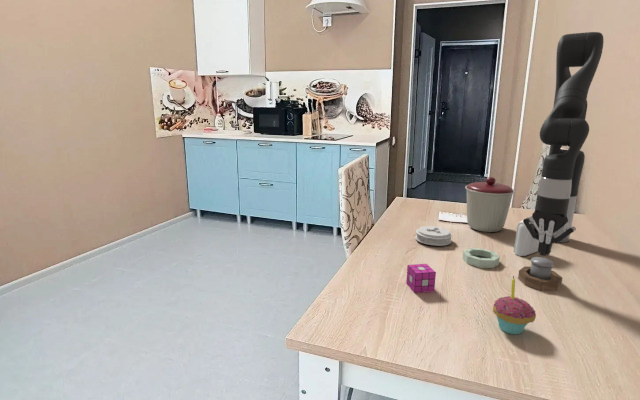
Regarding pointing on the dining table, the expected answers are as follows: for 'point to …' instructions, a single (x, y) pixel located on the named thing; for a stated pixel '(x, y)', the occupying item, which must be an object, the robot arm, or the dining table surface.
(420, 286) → the puzzle toy
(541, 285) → the walnut ring
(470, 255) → the sage ring
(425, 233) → the lid
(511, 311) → the cupcake
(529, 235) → the photo printer
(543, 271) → the cap
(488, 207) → the canister
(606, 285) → the dining table surface
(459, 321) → the dining table surface
